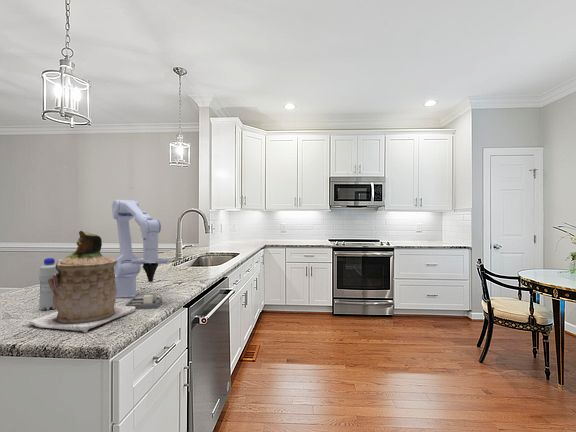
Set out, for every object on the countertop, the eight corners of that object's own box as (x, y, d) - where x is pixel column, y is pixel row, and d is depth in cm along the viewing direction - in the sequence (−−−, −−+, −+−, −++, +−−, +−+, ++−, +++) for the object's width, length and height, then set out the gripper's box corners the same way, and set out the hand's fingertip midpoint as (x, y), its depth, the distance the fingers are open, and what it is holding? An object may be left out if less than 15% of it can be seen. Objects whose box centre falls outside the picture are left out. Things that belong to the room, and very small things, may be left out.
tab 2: (148, 301, 131) (148, 293, 131) (149, 299, 134) (149, 291, 133) (156, 301, 132) (156, 292, 132) (157, 299, 134) (157, 291, 134)
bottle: (36, 312, 119) (36, 259, 119) (40, 307, 125) (41, 257, 125) (58, 309, 123) (58, 258, 122) (61, 305, 128) (61, 256, 128)
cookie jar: (138, 311, 122) (139, 228, 122) (84, 334, 98) (85, 232, 98) (85, 306, 128) (86, 227, 128) (22, 327, 104) (23, 230, 104)
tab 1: (143, 305, 126) (143, 296, 126) (144, 303, 128) (145, 295, 128) (151, 305, 126) (151, 296, 126) (152, 303, 129) (152, 294, 129)
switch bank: (125, 309, 123) (125, 304, 123) (132, 302, 133) (132, 297, 133) (157, 308, 126) (157, 302, 126) (162, 301, 136) (162, 296, 135)
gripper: (128, 250, 125) (128, 284, 125) (167, 249, 128) (167, 282, 128) (134, 248, 132) (134, 280, 132) (170, 247, 135) (170, 279, 135)
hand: (150, 281), depth 131 cm, fingers closed
